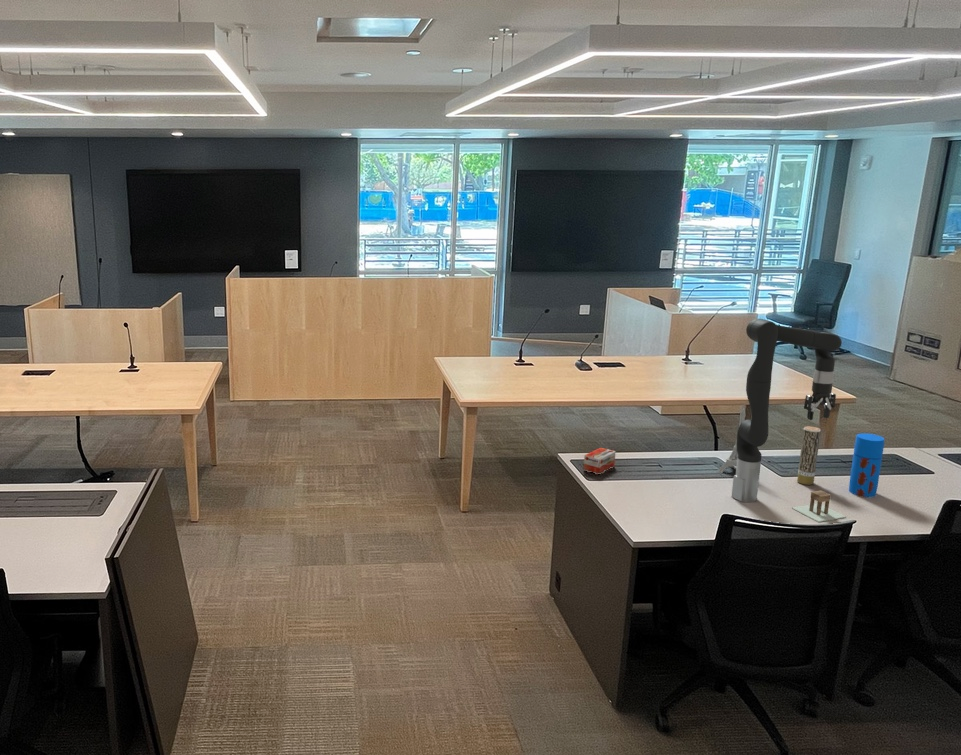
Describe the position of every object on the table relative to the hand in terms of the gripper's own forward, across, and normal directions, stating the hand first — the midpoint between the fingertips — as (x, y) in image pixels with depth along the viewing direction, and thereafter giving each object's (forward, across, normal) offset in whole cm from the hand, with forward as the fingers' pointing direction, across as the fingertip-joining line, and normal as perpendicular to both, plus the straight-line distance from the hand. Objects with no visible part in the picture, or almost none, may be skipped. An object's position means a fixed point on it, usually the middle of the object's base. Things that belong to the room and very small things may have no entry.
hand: (817, 418), depth 316 cm
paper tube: (+33, -8, -10) cm, 36 cm away
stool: (+33, +12, +18) cm, 39 cm away
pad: (+33, +12, +18) cm, 40 cm away
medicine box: (+34, +71, -53) cm, 95 cm away
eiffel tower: (+34, +12, -31) cm, 47 cm away
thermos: (+33, -23, +7) cm, 41 cm away
